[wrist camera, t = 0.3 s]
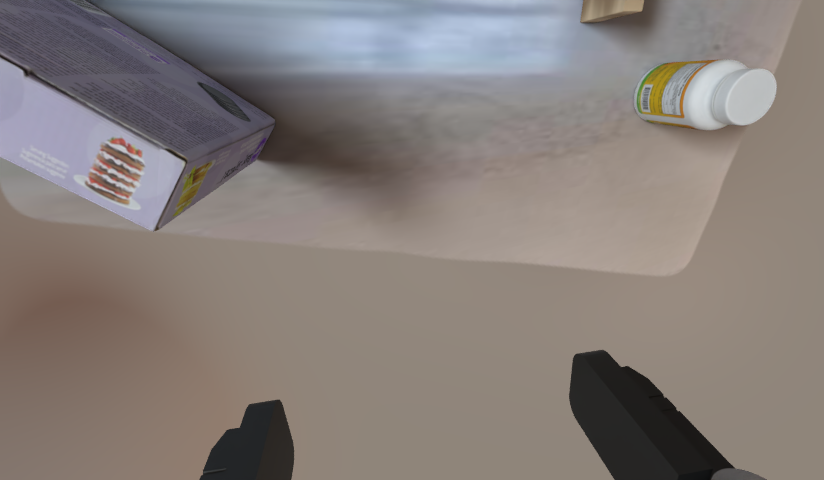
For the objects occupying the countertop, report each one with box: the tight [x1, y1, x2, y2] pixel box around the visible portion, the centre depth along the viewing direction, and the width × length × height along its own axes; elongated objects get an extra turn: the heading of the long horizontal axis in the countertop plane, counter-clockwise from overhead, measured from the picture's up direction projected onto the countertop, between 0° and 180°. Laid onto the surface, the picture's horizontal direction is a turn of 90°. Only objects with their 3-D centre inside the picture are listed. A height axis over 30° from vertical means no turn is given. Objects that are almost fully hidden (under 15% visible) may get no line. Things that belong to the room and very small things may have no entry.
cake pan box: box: [0, 0, 275, 232], centre depth 23 cm, size 19×5×18 cm, turn 55°
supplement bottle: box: [634, 60, 777, 130], centre depth 33 cm, size 5×5×10 cm
